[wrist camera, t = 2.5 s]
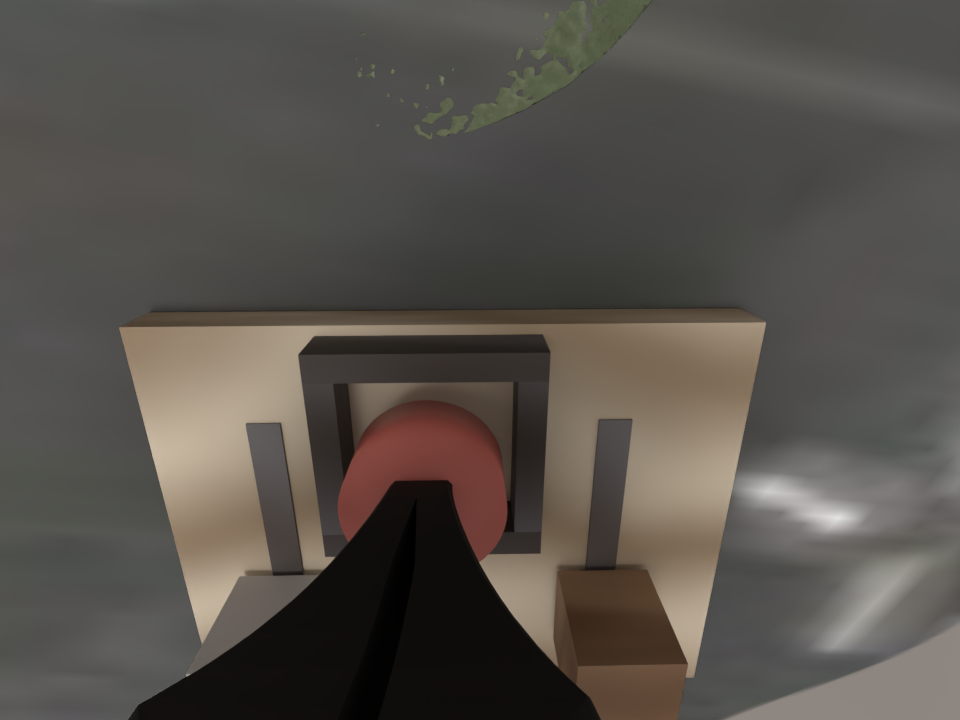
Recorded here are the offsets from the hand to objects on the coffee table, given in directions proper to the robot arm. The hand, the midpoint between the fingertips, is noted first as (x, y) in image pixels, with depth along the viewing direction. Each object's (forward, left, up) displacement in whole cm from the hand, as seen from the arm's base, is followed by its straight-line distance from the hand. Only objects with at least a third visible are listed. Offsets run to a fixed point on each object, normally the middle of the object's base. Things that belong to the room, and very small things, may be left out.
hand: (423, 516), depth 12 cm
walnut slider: (-7, -5, -4) cm, 9 cm away
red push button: (0, 0, -2) cm, 2 cm away
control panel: (-4, 0, -5) cm, 7 cm away
